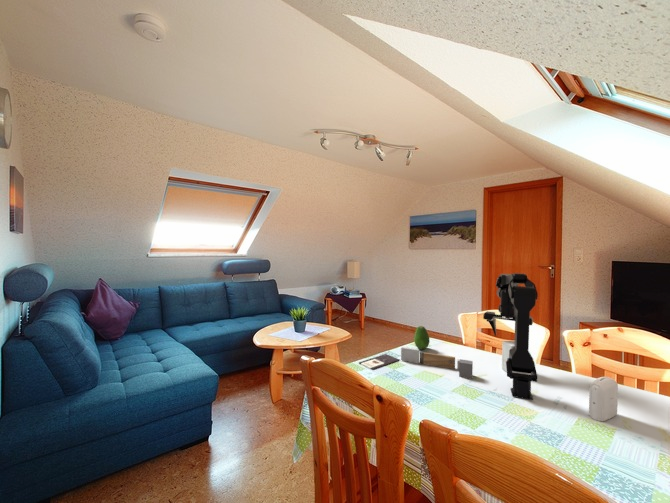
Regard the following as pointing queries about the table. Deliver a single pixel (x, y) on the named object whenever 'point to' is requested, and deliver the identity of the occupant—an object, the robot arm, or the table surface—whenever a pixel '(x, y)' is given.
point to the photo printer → (603, 398)
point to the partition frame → (414, 355)
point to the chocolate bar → (379, 361)
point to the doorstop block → (465, 368)
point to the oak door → (437, 360)
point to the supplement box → (507, 354)
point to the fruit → (421, 338)
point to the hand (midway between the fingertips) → (507, 337)
